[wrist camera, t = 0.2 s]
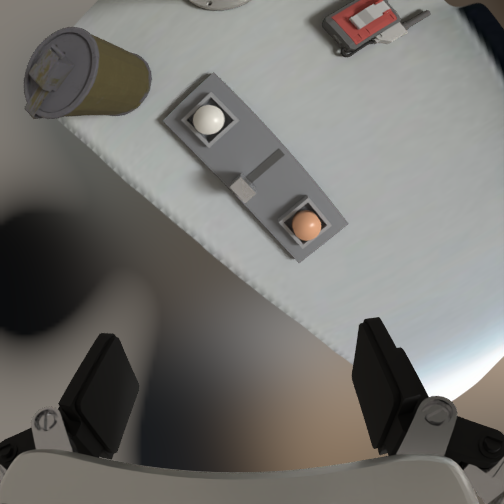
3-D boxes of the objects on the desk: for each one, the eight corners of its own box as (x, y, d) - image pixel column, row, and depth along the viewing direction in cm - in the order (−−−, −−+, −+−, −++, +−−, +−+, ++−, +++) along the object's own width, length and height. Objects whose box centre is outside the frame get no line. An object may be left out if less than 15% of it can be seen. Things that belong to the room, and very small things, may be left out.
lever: (245, 197, 43) (245, 203, 40) (231, 182, 43) (229, 187, 39) (256, 188, 43) (256, 193, 40) (241, 172, 42) (240, 177, 39)
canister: (123, 41, 35) (50, 6, 17) (165, 78, 38) (104, 52, 20) (79, 93, 38) (-5, 90, 20) (118, 131, 41) (39, 144, 23)
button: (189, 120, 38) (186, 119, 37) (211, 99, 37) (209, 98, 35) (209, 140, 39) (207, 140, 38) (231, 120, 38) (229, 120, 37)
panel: (165, 120, 41) (159, 120, 38) (215, 74, 38) (212, 70, 35) (297, 259, 49) (300, 267, 47) (345, 220, 47) (351, 227, 44)
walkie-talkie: (351, 70, 37) (429, 18, 32) (360, 65, 33) (442, 13, 28) (312, 26, 35) (396, -21, 29) (318, 18, 31) (407, -29, 25)
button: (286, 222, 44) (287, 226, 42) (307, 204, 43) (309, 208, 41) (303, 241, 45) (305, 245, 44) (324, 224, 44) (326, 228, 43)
